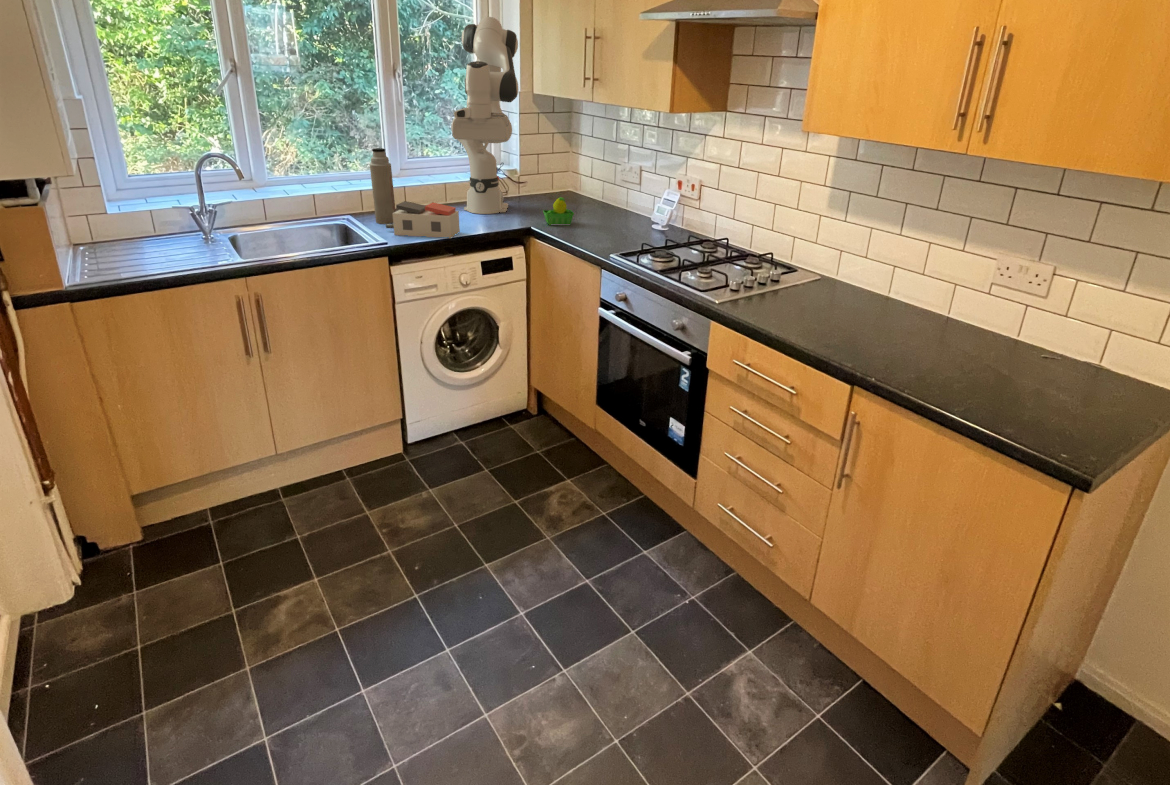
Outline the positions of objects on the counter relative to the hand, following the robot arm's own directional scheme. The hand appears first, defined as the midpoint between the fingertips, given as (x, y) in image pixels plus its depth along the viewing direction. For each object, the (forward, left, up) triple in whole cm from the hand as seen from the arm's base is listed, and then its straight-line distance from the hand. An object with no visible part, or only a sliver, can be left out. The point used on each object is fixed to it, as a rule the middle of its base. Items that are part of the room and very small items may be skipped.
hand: (481, 153), depth 257 cm
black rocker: (+5, -26, -21) cm, 34 cm away
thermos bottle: (-10, -44, -29) cm, 54 cm away
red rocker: (+5, -15, -21) cm, 27 cm away
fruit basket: (-22, +24, -29) cm, 44 cm away
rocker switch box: (+5, -24, -29) cm, 38 cm away
